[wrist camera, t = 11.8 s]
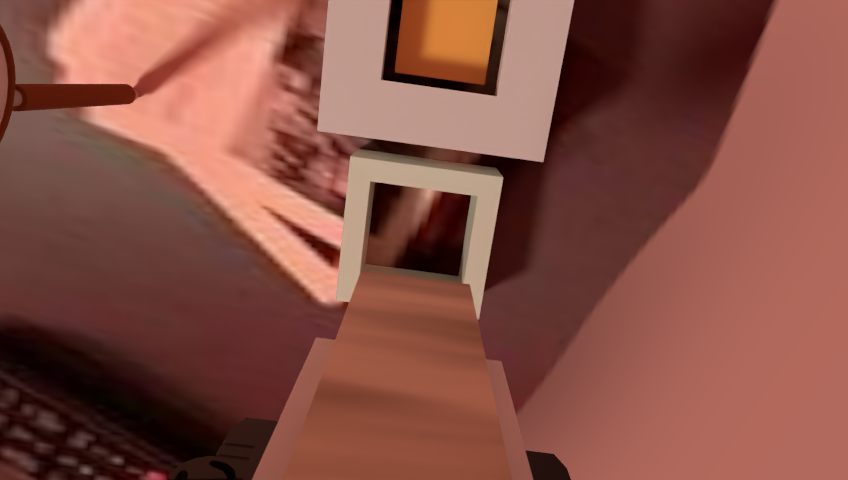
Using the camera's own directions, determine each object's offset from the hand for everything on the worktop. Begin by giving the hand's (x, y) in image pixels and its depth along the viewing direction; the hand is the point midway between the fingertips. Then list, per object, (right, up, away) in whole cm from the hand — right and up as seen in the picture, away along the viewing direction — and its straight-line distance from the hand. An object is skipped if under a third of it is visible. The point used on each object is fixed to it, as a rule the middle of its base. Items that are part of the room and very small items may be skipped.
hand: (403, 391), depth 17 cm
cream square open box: (0, +5, +22) cm, 22 cm away
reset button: (+2, +17, +17) cm, 24 cm away
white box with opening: (+2, +17, +18) cm, 25 cm away
